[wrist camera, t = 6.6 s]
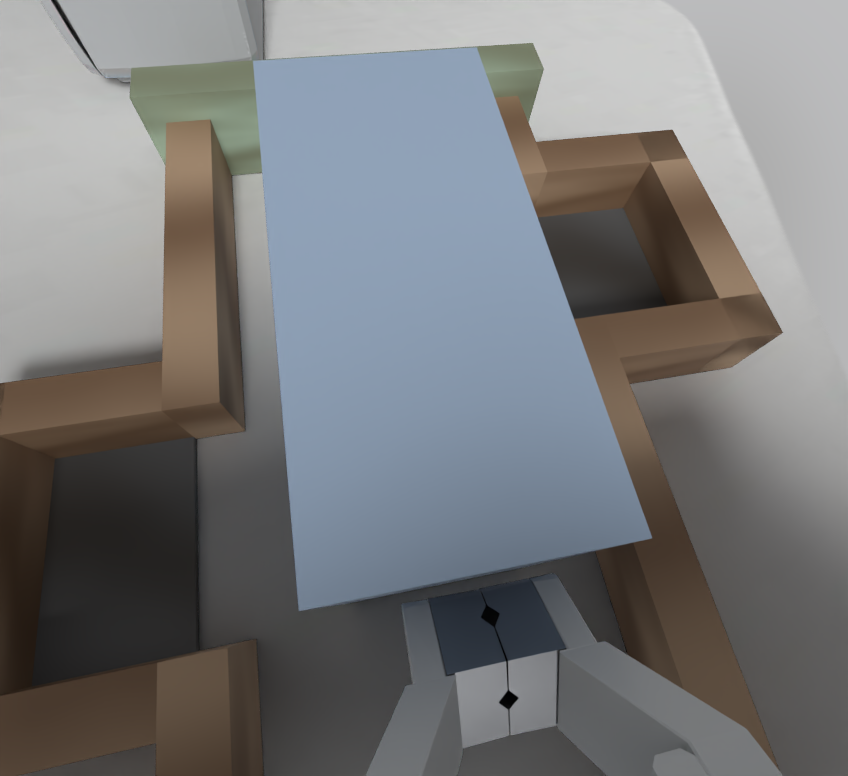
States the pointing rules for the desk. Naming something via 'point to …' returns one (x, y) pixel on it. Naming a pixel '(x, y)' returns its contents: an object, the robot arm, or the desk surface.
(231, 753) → the trap lane
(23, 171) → the desk surface
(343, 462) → the slate block
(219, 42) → the stereo radio cassette player
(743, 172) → the desk surface
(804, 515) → the desk surface
